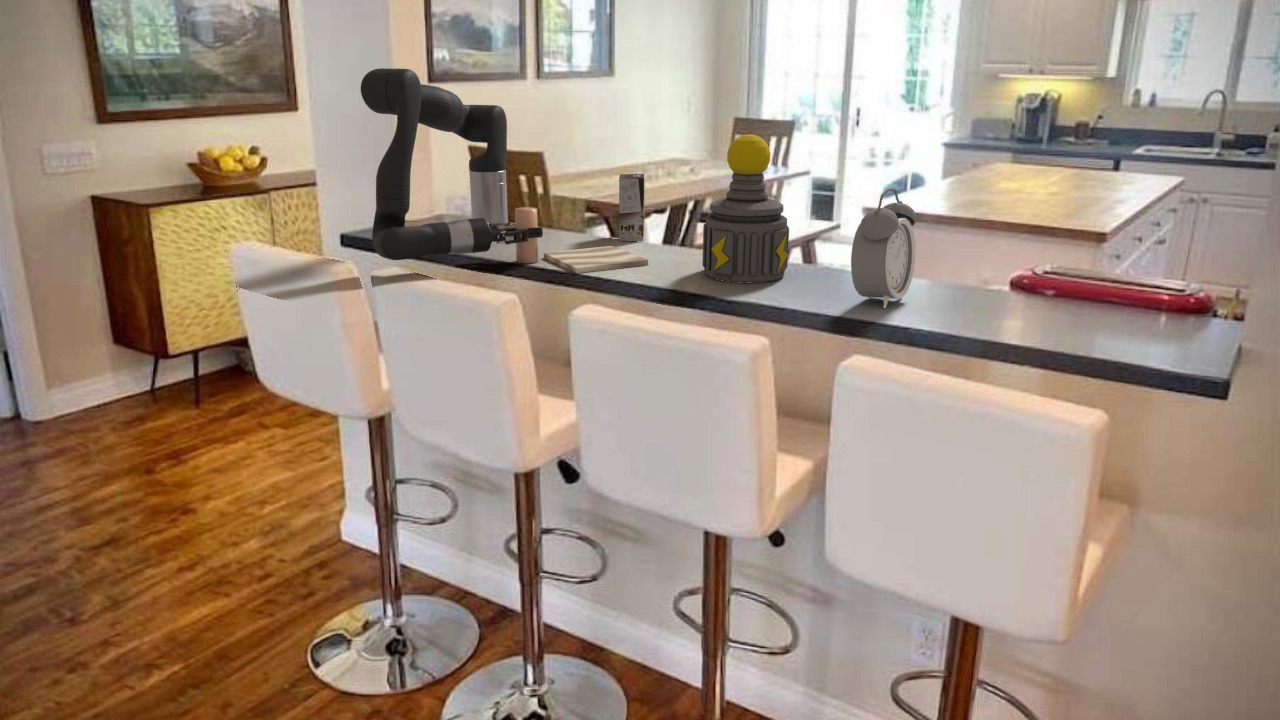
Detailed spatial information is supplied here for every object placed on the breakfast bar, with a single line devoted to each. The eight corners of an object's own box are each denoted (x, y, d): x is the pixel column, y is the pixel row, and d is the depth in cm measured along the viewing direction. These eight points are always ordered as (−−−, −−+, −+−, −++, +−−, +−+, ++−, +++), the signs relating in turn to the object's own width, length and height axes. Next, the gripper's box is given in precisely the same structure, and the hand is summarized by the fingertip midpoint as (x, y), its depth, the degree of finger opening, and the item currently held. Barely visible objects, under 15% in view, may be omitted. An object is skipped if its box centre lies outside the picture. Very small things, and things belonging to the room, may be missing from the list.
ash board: (543, 257, 224) (543, 252, 224) (611, 250, 233) (611, 245, 232) (576, 273, 209) (576, 267, 209) (648, 264, 218) (648, 259, 217)
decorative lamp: (803, 273, 210) (812, 133, 201) (757, 289, 196) (763, 140, 187) (732, 261, 222) (737, 128, 212) (683, 275, 208) (686, 134, 198)
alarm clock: (886, 314, 178) (897, 196, 171) (842, 307, 183) (851, 192, 176) (915, 296, 191) (926, 185, 184) (874, 290, 196) (883, 182, 189)
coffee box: (643, 241, 244) (644, 177, 239) (618, 241, 244) (618, 177, 239) (644, 234, 252) (644, 173, 247) (620, 234, 252) (620, 173, 247)
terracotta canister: (513, 259, 221) (511, 208, 217) (533, 258, 224) (532, 206, 220) (521, 264, 217) (519, 211, 213) (541, 262, 219) (540, 210, 216)
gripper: (476, 224, 204) (549, 218, 212) (454, 214, 216) (524, 209, 224) (478, 259, 207) (550, 251, 215) (456, 247, 219) (525, 240, 226)
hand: (536, 229), depth 219 cm, fingers closed on terracotta canister, 5 cm apart
